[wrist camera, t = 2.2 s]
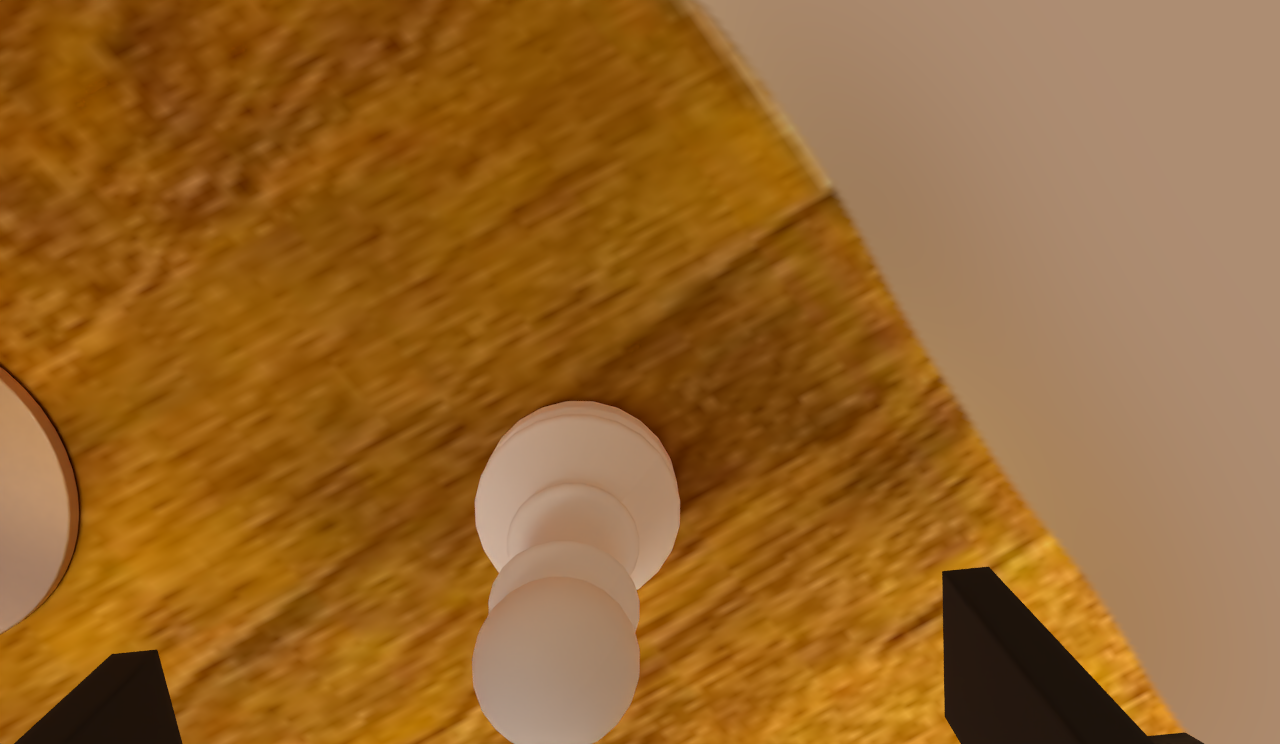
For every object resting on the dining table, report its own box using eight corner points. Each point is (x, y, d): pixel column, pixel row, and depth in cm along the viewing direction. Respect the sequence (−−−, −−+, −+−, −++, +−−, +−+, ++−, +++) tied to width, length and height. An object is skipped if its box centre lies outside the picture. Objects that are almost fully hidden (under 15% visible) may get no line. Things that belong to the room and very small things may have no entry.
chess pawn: (565, 612, 22) (524, 901, 13) (444, 473, 21) (315, 688, 12) (715, 507, 21) (777, 738, 13) (598, 358, 20) (577, 499, 12)
